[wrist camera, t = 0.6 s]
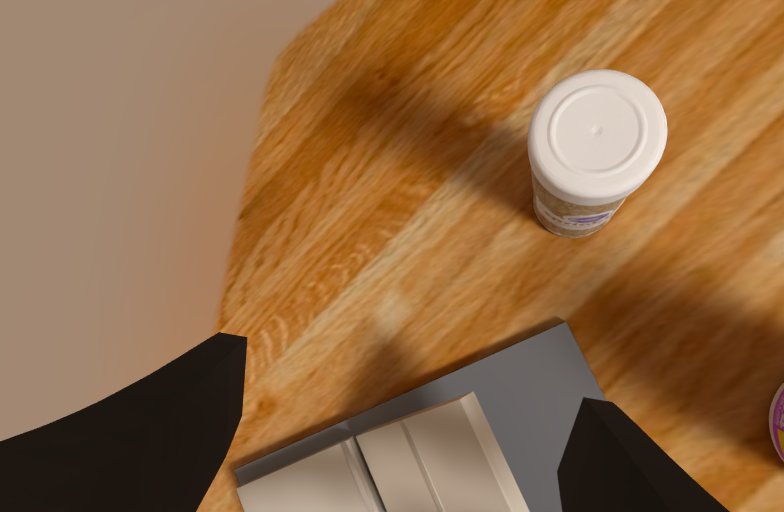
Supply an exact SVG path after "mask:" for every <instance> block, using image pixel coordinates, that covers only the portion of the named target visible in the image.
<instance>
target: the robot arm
mask: <svg viewBox="0 0 784 512" xmlns="http://www.w3.org/2000/svg"><path fill="white" fill-rule="evenodd" d="M246 350H247V337H243V336H237V335H231V334H226V333H220V332H219V333H217V334H215V335H214V336H212V337H210V338H209V339H207V340H206V341H204V342H202V343H201V344H199V345H197V346H196V347H194V348H193V349H191V350H189V351H188V352H186V353H185V354H183V355H181V356H180V357H178V358H177V359H175V360H173V361H171V362H170V363H168V364H166V365H165V366H163V367H161V368H160V369H158V370H157V371H155V372H153V373H151V374H150V375H148V376H146V377H144V378H142V379H140V380H139V381H137V382H135V383H133V384H131V385H129V386H127V387H126V388H124V389H122V390H120V391H118V392H116V393H114V394H112V395H110V396H109V397H107V398H105V399H103V400H101V401H99V402H97V403H95V404H93V405H90V406H88V407H86V408H84V409H82V410H80V411H77V412H75V413H73V414H70V415H68V416H66V417H63V418H61V419H59V420H56V421H54V422H52V423H49V424H47V425H44V426H42V427H39V428H37V429H34V430H31V431H28V432H25V433H23V434H20V435H17V436H14V437H11V438H9V439H6V440H3V441H0V512H196V511H197V509H198V507H199V505H200V503H201V502H202V500H203V498H204V496H205V494H206V492H207V491H208V489H209V487H210V485H211V483H212V481H213V480H214V478H215V476H216V474H217V472H218V470H219V469H220V467H221V465H222V463H223V461H224V459H225V457H226V455H227V452H228V450H229V447H230V445H231V442H232V440H233V438H234V435H235V432H236V430H237V427H238V425H239V422H240V419H241V417H242V408H243V394H244V379H245V364H246ZM557 476H558V484H559V492H560V500H561V506H562V512H729V511H728V510H727V509H726V508H725V507H724V506H723V505H721V504H720V503H719V502H718V501H717V500H716V499H715V498H713V497H712V496H711V495H710V494H709V493H708V492H707V491H705V490H704V489H703V488H702V487H701V486H700V485H699V484H698V483H697V482H696V481H695V480H693V479H692V478H691V477H690V476H689V475H688V474H687V473H686V472H685V471H684V470H683V469H682V468H681V467H680V466H679V465H678V464H677V463H676V462H674V461H673V460H672V459H671V458H670V457H669V456H668V455H667V454H666V453H665V452H664V451H663V450H662V449H661V448H660V447H659V446H658V445H657V444H656V443H655V442H654V441H653V440H652V439H651V438H650V437H649V436H648V435H647V434H646V433H645V432H644V431H643V430H642V429H641V428H640V427H639V426H638V425H637V424H636V423H635V422H633V421H632V420H631V419H630V418H629V417H628V416H627V415H626V414H625V413H624V412H623V411H622V410H621V409H620V408H618V407H617V406H616V405H615V404H614V403H613V402H609V401H603V400H597V399H592V398H586V397H583V399H582V402H581V405H580V408H579V411H578V414H577V416H576V419H575V422H574V425H573V428H572V430H571V433H570V436H569V439H568V442H567V445H566V447H565V450H564V453H563V456H562V459H561V462H560V464H559V467H558V470H557Z"/></svg>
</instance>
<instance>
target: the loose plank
mask: <svg viewBox="0 0 784 512" xmlns="http://www.w3.org/2000/svg"><path fill="white" fill-rule="evenodd" d="M356 439H357V441H358V443H359V446H360V448H361V450H362V453H363V455H364V458H365V460H366V462H367V465H368V467H369V470H370V472H371V474H372V477H373V479H374V481H375V484H376V486H377V489H378V491H379V493H380V496H381V498H382V501H383V503H384V505H385V508H386V510H387V512H530V511H529V509H528V507H527V505H526V503H525V501H524V498H523V496H522V494H521V492H520V490H519V488H518V486H517V483H516V481H515V479H514V477H513V475H512V473H511V471H510V468H509V466H508V464H507V462H506V460H505V458H504V456H503V453H502V451H501V449H500V447H499V445H498V443H497V441H496V438H495V436H494V434H493V432H492V430H491V428H490V426H489V423H488V421H487V419H486V417H485V415H484V413H483V411H482V408H481V406H480V404H479V402H478V400H477V398H476V396H475V393H474V391H473V392H470V393H467V394H464V395H462V396H459V397H456V398H453V399H450V400H448V401H445V402H442V403H439V404H437V405H434V406H431V407H428V408H425V409H423V410H420V411H417V412H414V413H412V414H409V415H406V416H403V417H401V418H398V419H395V420H392V421H389V422H387V423H384V424H381V425H378V426H376V427H373V428H370V429H368V430H366V431H365V432H363V433H361V434H359V435H357V436H356Z"/></svg>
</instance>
